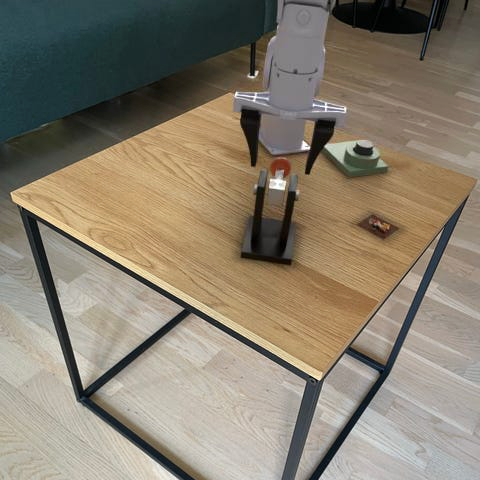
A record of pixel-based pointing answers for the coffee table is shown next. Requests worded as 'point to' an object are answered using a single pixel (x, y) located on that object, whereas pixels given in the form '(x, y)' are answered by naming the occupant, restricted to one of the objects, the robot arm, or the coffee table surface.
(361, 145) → the button
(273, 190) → the lever
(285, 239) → the bracket
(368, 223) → the diorama
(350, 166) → the control block
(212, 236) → the coffee table surface
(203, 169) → the coffee table surface
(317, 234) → the coffee table surface
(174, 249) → the coffee table surface
